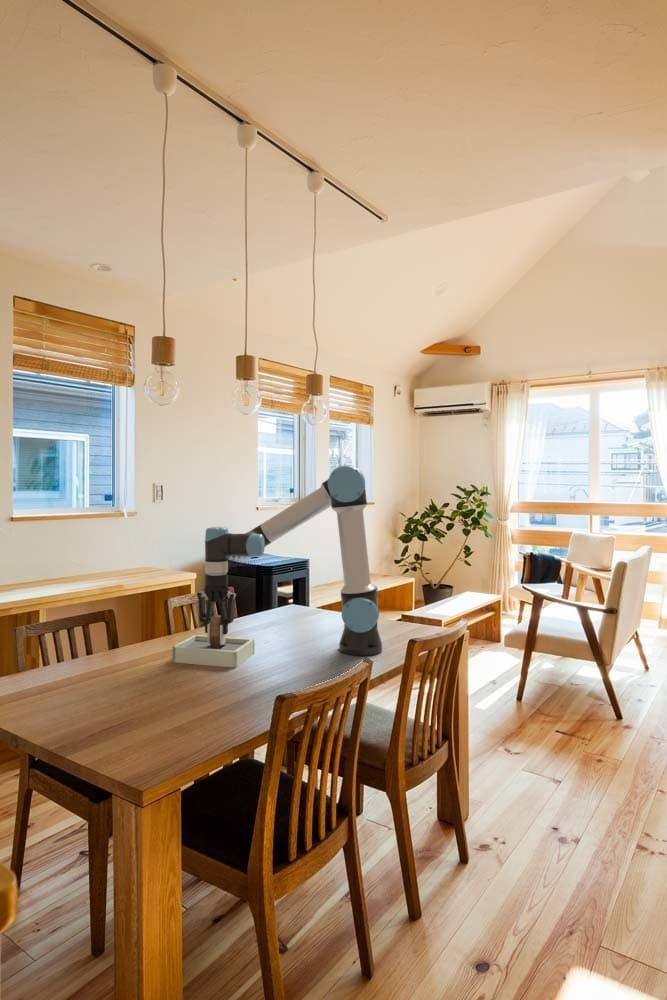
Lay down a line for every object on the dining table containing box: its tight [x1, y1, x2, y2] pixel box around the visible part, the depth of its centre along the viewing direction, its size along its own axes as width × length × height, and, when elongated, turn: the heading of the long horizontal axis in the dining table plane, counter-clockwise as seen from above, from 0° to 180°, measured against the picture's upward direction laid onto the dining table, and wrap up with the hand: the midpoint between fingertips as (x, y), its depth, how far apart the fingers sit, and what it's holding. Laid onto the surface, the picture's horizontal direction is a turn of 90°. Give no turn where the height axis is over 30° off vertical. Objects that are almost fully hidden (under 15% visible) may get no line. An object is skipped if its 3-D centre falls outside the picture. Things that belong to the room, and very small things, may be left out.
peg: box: [210, 614, 223, 649], centre depth 203 cm, size 4×4×12 cm
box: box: [171, 634, 255, 669], centre depth 202 cm, size 22×16×5 cm
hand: (216, 643), depth 203 cm, fingers closed on peg, 4 cm apart
